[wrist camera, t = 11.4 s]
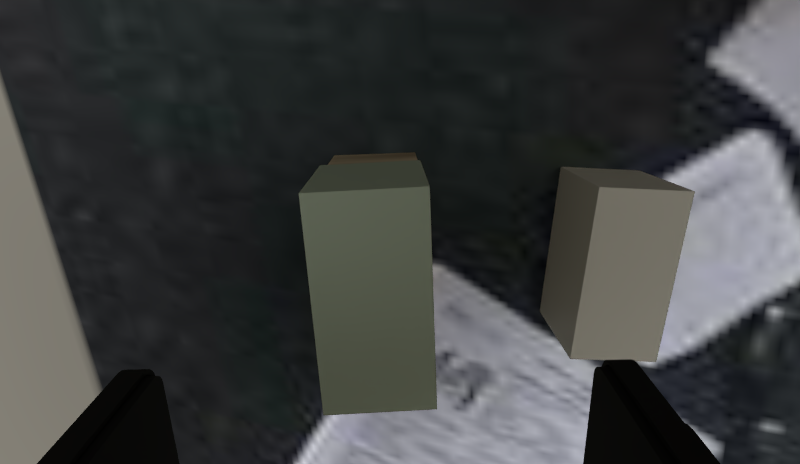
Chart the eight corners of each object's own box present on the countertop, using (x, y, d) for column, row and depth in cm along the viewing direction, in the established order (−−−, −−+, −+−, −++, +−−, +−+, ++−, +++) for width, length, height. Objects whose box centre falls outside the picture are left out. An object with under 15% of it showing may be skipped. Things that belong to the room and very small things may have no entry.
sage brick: (320, 165, 20) (298, 193, 15) (420, 159, 20) (429, 186, 15) (337, 343, 23) (323, 415, 18) (426, 338, 23) (436, 409, 18)
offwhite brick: (560, 166, 25) (599, 187, 21) (637, 170, 26) (695, 191, 21) (539, 310, 28) (570, 359, 23) (610, 313, 28) (656, 361, 23)
